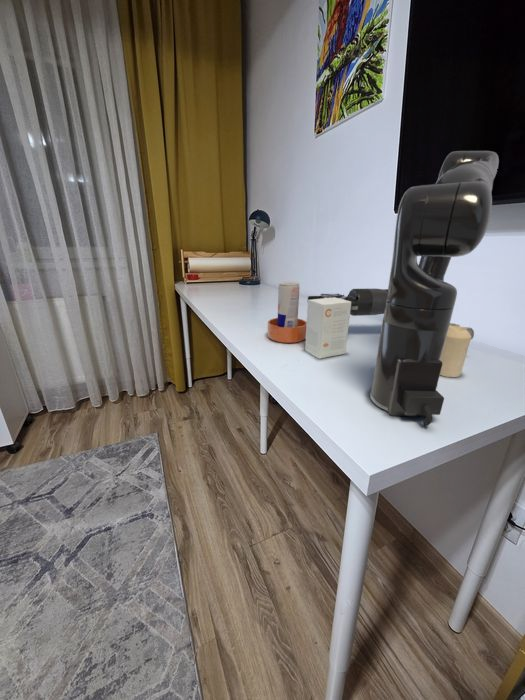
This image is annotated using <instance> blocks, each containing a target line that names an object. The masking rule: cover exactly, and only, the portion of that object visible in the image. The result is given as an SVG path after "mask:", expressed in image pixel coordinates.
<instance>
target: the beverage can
mask: <svg viewBox="0 0 525 700" xmlns="http://www.w3.org/2000/svg"><path fill="white" fill-rule="evenodd" d="M277 298H278V299H277V318H278V323H277V326H278V327H289V328H292V327H297V324H298V319H299V305H300V303H299V301H300V282H298V281H279V282H278V294H277Z"/></svg>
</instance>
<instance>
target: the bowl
mask: <svg viewBox="0 0 525 700" xmlns="http://www.w3.org/2000/svg"><path fill="white" fill-rule="evenodd" d="M277 323H278V317H274V318H271V319H269V320H268V321H267V338H268V339H270V340H272V341H273V342H277V343H281V344H282V343H283V344H295V343H299V342H302V341H304V340H306V327H307V320H304V319H302V318H298V324H297V327H292V328H289V327H278V326H277Z"/></svg>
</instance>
